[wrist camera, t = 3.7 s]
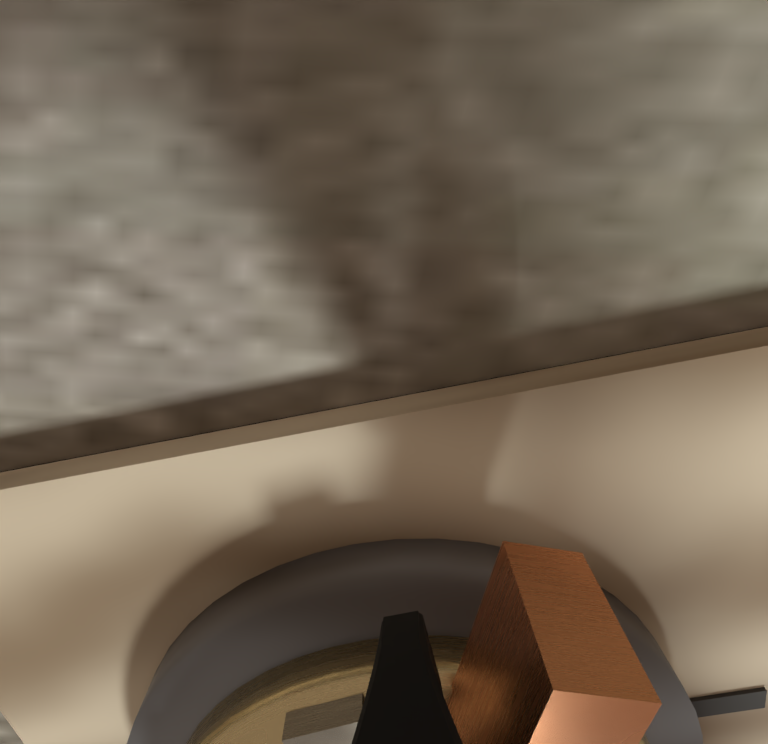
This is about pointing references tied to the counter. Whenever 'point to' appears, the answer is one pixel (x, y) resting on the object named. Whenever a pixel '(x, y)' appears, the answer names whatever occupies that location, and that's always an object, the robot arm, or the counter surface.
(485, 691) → the studded brass disc
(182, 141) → the counter surface
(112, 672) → the nut base
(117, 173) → the counter surface
